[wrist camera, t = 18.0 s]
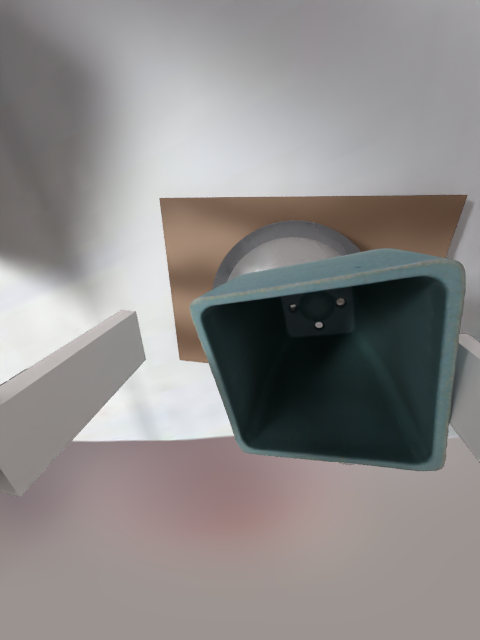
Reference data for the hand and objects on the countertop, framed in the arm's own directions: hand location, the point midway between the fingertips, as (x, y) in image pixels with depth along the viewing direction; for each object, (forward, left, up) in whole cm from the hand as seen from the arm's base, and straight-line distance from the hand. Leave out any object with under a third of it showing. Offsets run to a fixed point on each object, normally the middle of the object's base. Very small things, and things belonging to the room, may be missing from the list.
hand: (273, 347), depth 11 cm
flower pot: (+1, +3, -8) cm, 8 cm away
